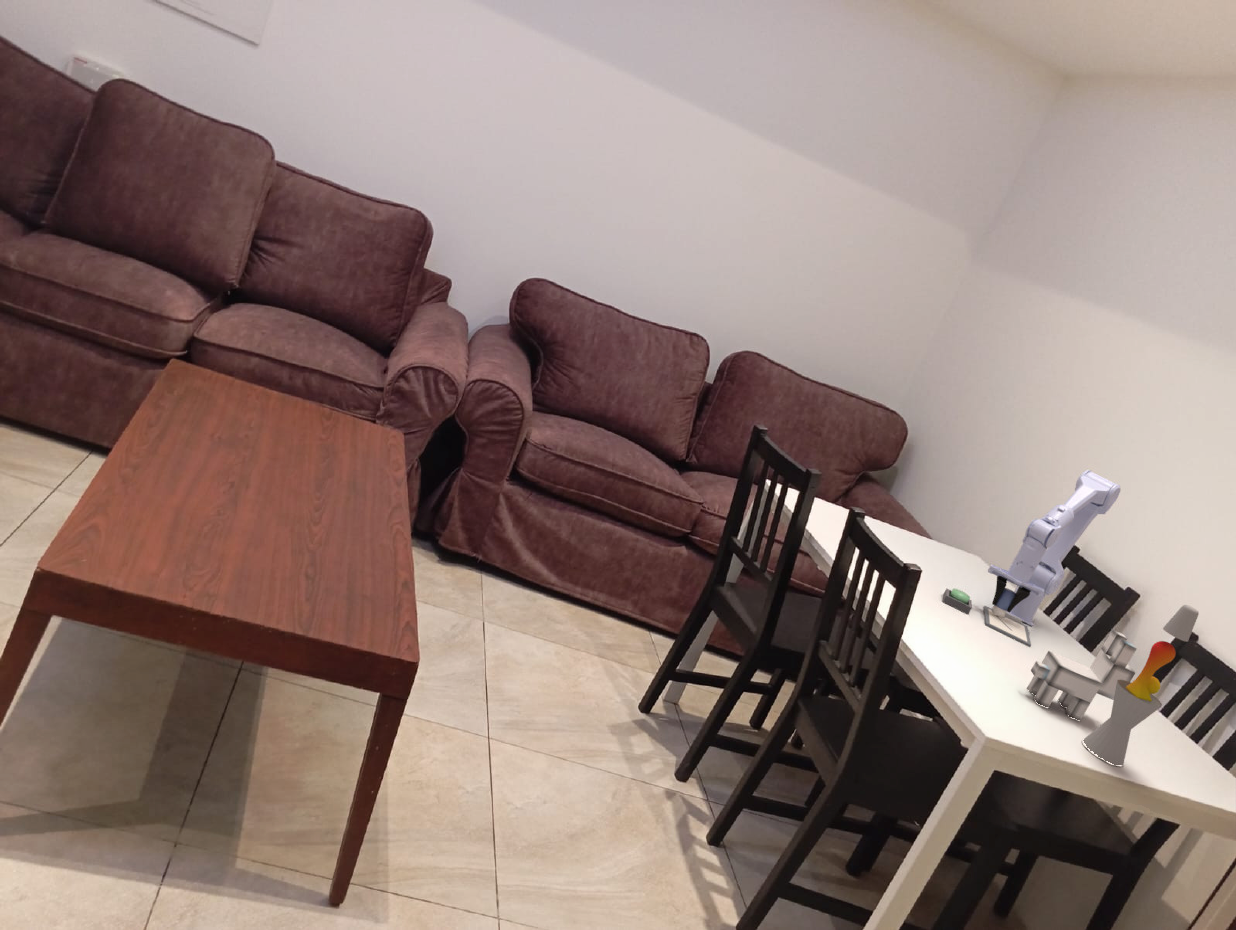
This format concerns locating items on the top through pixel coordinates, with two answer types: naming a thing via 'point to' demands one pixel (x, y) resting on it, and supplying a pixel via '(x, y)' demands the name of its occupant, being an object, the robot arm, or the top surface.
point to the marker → (1003, 602)
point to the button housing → (956, 602)
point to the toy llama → (1082, 676)
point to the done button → (960, 596)
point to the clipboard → (1007, 626)
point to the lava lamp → (1138, 694)
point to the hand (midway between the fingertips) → (1000, 607)
